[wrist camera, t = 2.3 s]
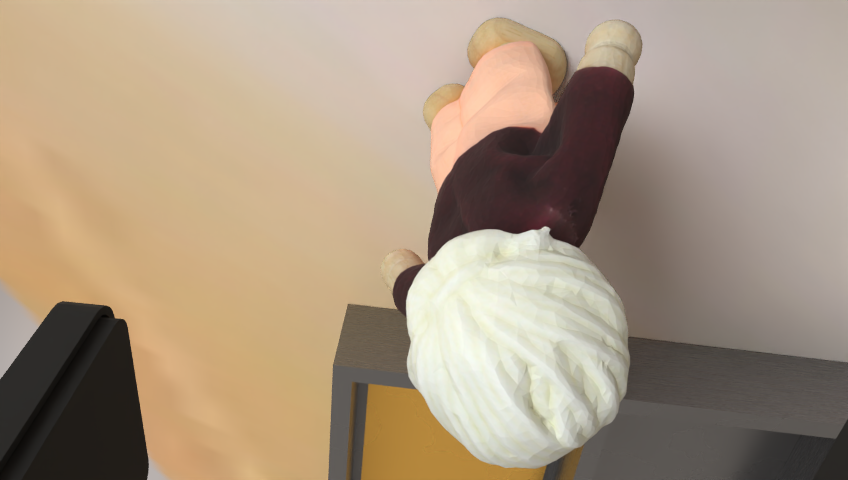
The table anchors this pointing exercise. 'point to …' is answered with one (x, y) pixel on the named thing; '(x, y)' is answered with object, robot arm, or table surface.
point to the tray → (614, 443)
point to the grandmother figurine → (520, 248)
